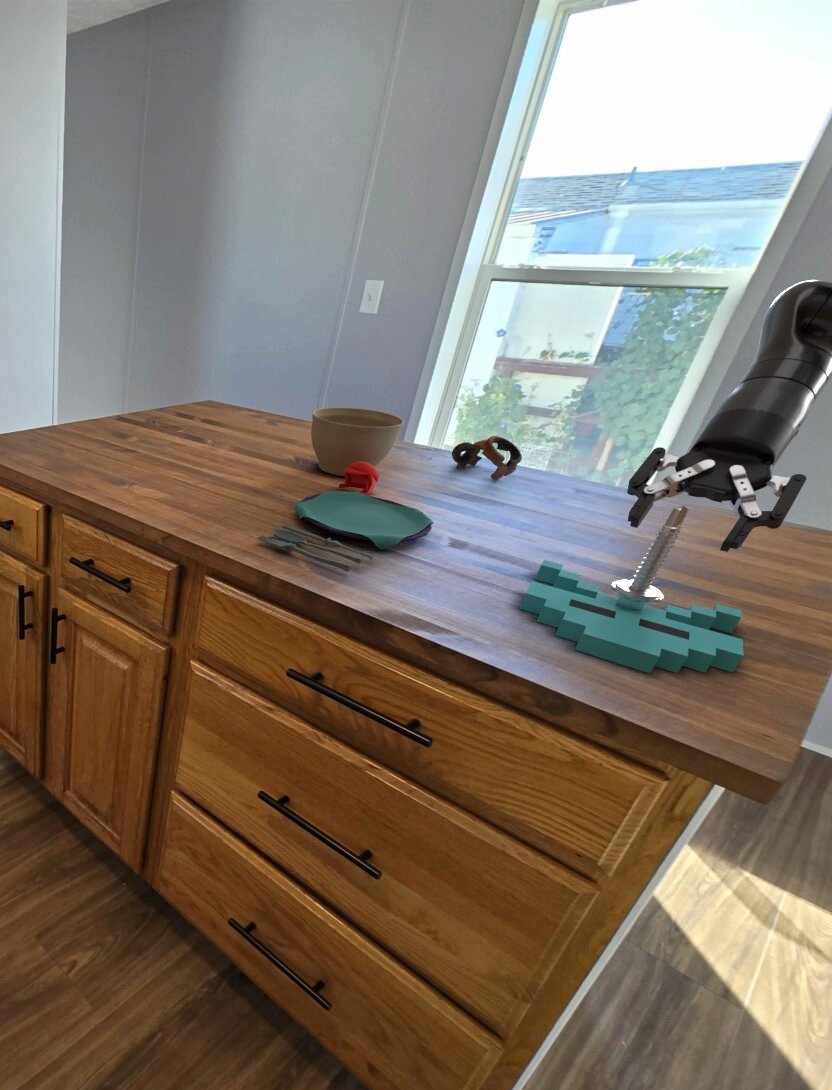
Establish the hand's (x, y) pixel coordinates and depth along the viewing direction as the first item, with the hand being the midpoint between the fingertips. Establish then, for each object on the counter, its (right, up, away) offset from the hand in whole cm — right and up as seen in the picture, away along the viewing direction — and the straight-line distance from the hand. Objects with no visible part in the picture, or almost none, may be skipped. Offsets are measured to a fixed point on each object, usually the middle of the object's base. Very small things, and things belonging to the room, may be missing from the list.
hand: (677, 535), depth 79 cm
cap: (-19, +12, +41) cm, 47 cm away
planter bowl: (-15, +18, +52) cm, 57 cm away
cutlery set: (-28, +3, +25) cm, 38 cm away
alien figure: (-6, -11, +1) cm, 13 cm away
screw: (-5, -9, +1) cm, 10 cm away
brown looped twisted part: (+11, +18, +52) cm, 56 cm away
